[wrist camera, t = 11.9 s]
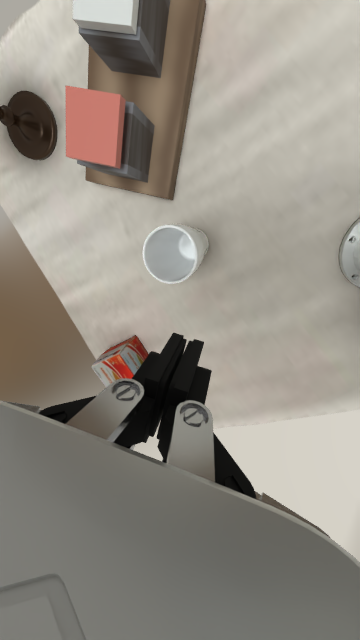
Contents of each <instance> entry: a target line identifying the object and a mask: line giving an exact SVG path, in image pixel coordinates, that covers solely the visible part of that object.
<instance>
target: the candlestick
mask: <svg viewBox="0 0 360 640" xmlns="http://www.w3.org/2000/svg"><path fill="white" fill-rule="evenodd" d="M0 120H1V122H2V123H3V124H4V125H5V126H7V129H8V133H9V136H10V138H11V140H12V142H13V144H14V146H15V147H16V148H17V149H18V151H19V152H20V153H22V154H23V155H24V156H26V157H28V158H31V159H34V160H44V159H46V158H48V157H49V156H50V155H51V154H52V152H53V151H54V149H55V146H56V142H57V125H56V121H55V118H54V115H53V113H52V111H51V109H50V107H49V106H48V105H47V103H46V102H45V101H44V100H43V99H42V98H40V97H39V96H37V95H36V94H34V93H32V92H29V91H20V92H18V93H16V94H15V95H14V96H13V97H12V98H11V100H10V102H9V104H8V107H7V106H5V105H3V106H0Z"/></svg>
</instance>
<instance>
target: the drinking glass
mask: <svg viewBox="0 0 360 640" xmlns="http://www.w3.org/2000/svg"><path fill="white" fill-rule="evenodd" d="M208 247H209V242H208V238H207V236H206V235H205V233H204V232H203V231H201V230H199V229H196V228H192V227H189V226H187V225H183V224H168V225H163V226H160V227H158V228H156V229H154V230H153V231H152V232H151V233H150V234H149V235H148V236H147V238H146V240H145V242H144V246H143V260H144V264H145V266H146V268H147V270H148V271H149V273H150V274H151V275H152V276H153V277H154V278H155V279H157V280H159V281H161V282H163V283H167V284H176V283H180V282H182V281H184V280H186V279H187V278H188V277H190V276H191V275H192V274H193V273H194V272H195V271H196V270H197V269H198V268H199V266H200V264H201V262H202V260H203V258H204V256H205V255H206V253H207V251H208Z"/></svg>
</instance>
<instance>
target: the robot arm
mask: <svg viewBox="0 0 360 640" xmlns="http://www.w3.org/2000/svg"><path fill="white" fill-rule="evenodd" d="M349 238H351V241H348V240H349ZM339 262H340V267H341V270H342V272H343V274H344V275H345V277H346V278H347V279H348V280H349V281H350V282H351V283H352V284H354V285H356V286H357V287H359V288H360V218H359V219H358V220H357V221H356V222H355V223H354V224H353V225H352V226H351V228H350V229H349V230H348V232H347V233H346V235H345V237H344V239H343V241H342V244H341V247H340V253H339ZM353 274H354V276H353V277H352V275H353ZM185 344H186V339H183V335H179V334H176V333H173V334H172V336H171V337H170V339H169V341H168V342H167V344H166V345H165V347H164V349H163V350H162V352H161V353H160V354H159V353H156V352H153V351H151V352H150V353H149V355H148V356H147V358H146V359H145V360H144V362H143V363H142V365H141V366H140V368H139V369H138V370H137V372H136V373H135V375H134V376H133V377H132V379H128V378H123V379H118V380H115V381H114V382H112V383H111V384H110V385H109V386H108V387H106V388H105V389H104V390H103V391H102V392H101V393H100V394H99V395H97V396H94V397H89V398H85V399H81V400H76V401H73V402H68V403H64V404H59V405H55V406H51V407H48V408H46V409H44V410H40V407H39V406H31V405H25V404H18V403H12V402H5V401H0V640H360V562H359V561H357V559H356V558H354V557H353V556H352V555H351V554H350V553H348V552H347V551H346V550H345V549H343V548H342V547H341V546H340V545H338V544H337V543H336V542H335V541H333V540H332V539H331V538H330V537H329V536H328V535H327V534H326V533H325V532H324V531H322V530H321V529H320V528H319V527H317V526H315V525H314V524H312V523H311V522H309V521H307V520H306V519H304V518H303V517H301V516H299V515H298V514H296V513H295V512H293V511H292V510H290V509H288V508H287V507H285V506H284V505H282V504H280V503H279V502H277V501H276V500H274V499H273V498H271V497H269V496H268V495H266V494H265V493H262V495H260V494H258V493H257V492H255V491H254V488H253V487H252V485H251V483H250V481H249V480H248V479H247V477H246V476H245V474H244V473H243V472H242V470H241V469H240V468H239V466H238V465H237V464H236V462H235V461H234V460H233V458H232V457H231V456H230V454H229V453H228V452H227V450H226V449H225V448H224V446H223V445H222V444H221V442H220V441H219V440H218V438H217V437H216V435H215V434H214V433H213V418H212V414H211V412H210V410H209V409H208V408H207V407H206V406H205V400H206V395H207V390H208V386H209V381H210V376H211V370H209V369H205V368H202V367H199V366H197V365H198V362H199V358H200V355H201V351H202V348H203V345H204V342H202V341H199V340H196V339H194V341H189V343H188V345H187V347H186V349H185V352H184V348H185ZM183 352H184V354H183ZM160 420H161V422H160ZM159 422H160V426H159V430H158V434H157V439H159V444H158V449H159V451H160V452H161V455H162V457H163V460H162V462H161V461H159V460H156V459H154V458H151V457H149V456H146V455H144V454H141V453H138V452H136V451H133V449H134V446H135V444H138V443H141V442H145V443H146V442H147V439H148V437H149V436H152V437H153V436H154V434H155V432H156V429H157V427H158V425H159Z"/></svg>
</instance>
